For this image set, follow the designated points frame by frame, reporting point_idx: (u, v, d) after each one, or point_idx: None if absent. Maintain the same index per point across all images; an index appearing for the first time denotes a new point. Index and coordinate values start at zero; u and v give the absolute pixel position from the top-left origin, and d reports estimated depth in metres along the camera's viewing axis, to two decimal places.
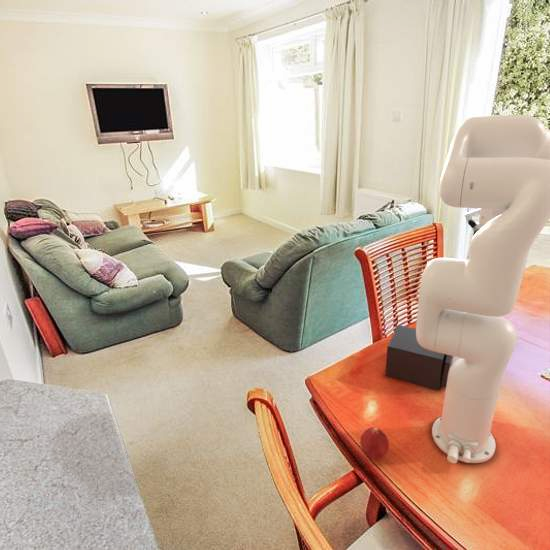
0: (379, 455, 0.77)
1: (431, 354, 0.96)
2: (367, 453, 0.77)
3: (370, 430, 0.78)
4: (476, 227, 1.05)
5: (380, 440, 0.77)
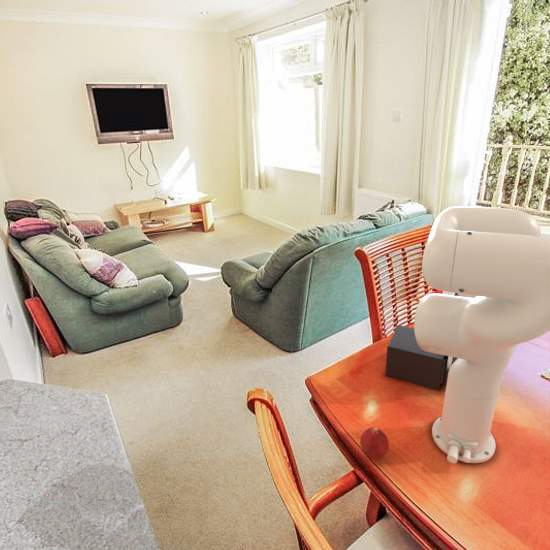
0: (379, 455, 0.77)
1: (431, 354, 0.96)
2: (367, 453, 0.77)
3: (370, 430, 0.78)
4: None
5: (380, 440, 0.77)
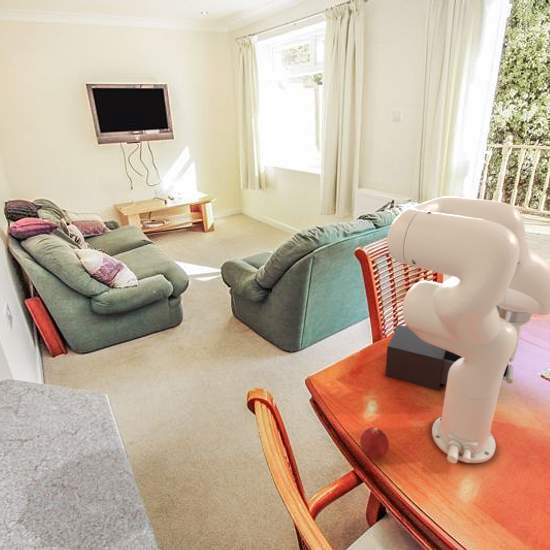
0: (379, 455, 0.77)
1: (431, 354, 0.96)
2: (367, 453, 0.77)
3: (370, 430, 0.78)
4: None
5: (380, 440, 0.77)
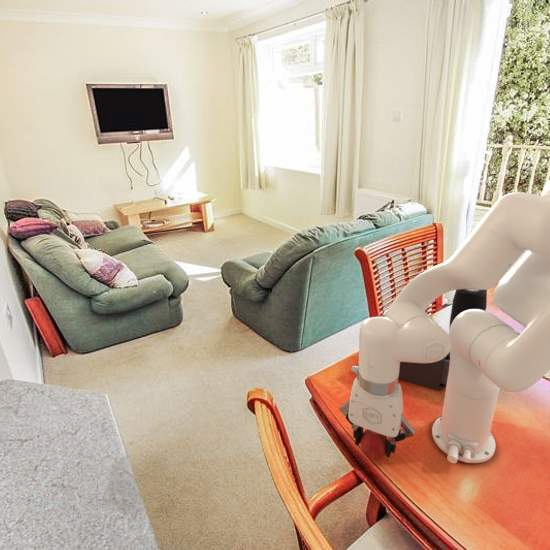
0: (379, 455, 0.77)
1: None
2: (367, 453, 0.77)
3: (370, 430, 0.78)
4: (355, 426, 0.78)
5: (380, 440, 0.77)
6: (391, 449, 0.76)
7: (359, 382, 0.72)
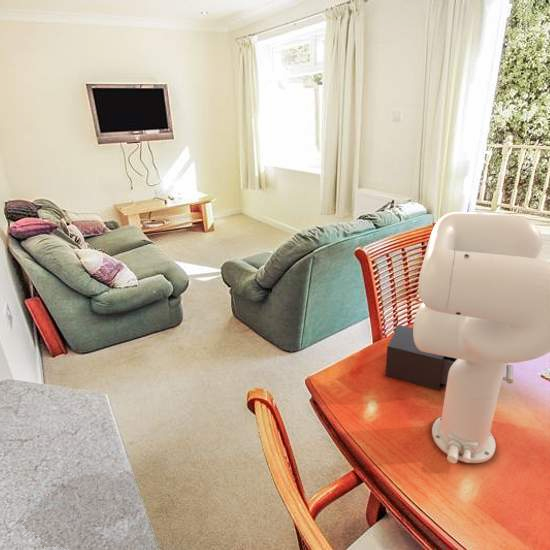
0: None
1: (431, 354, 0.96)
2: None
3: None
4: None
5: None
6: None
7: None
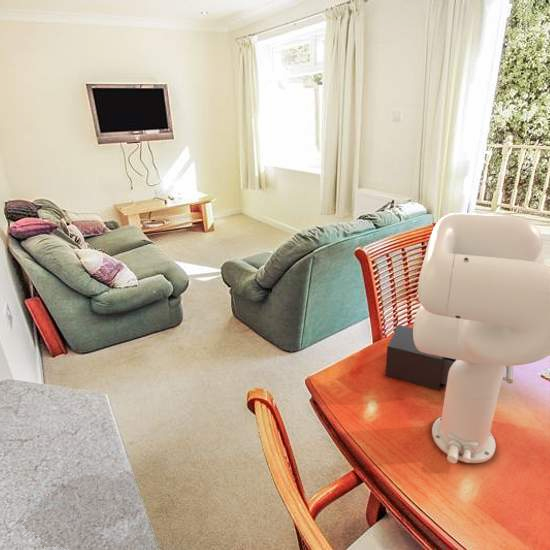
0: None
1: None
2: None
3: None
4: None
5: None
6: None
7: None
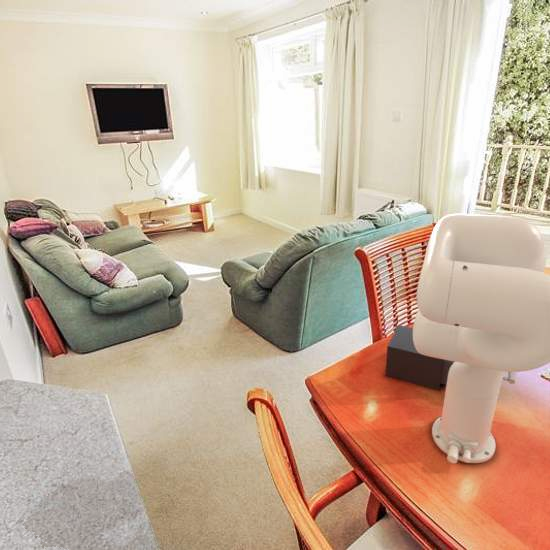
0: None
1: None
2: None
3: None
4: None
5: None
6: None
7: None
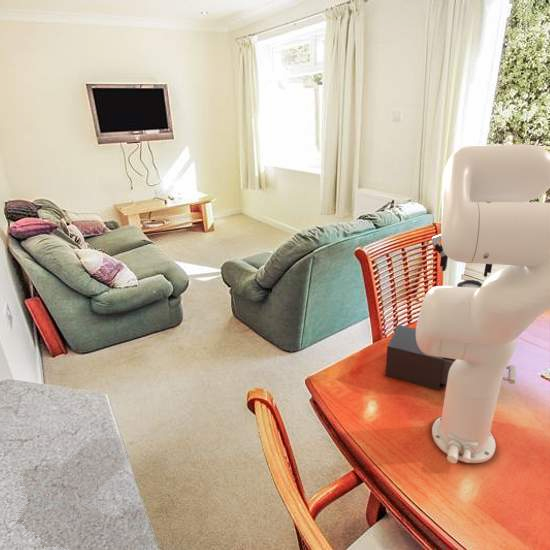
0: None
1: None
2: None
3: None
4: (443, 252, 0.96)
5: None
6: (488, 269, 0.92)
7: None
